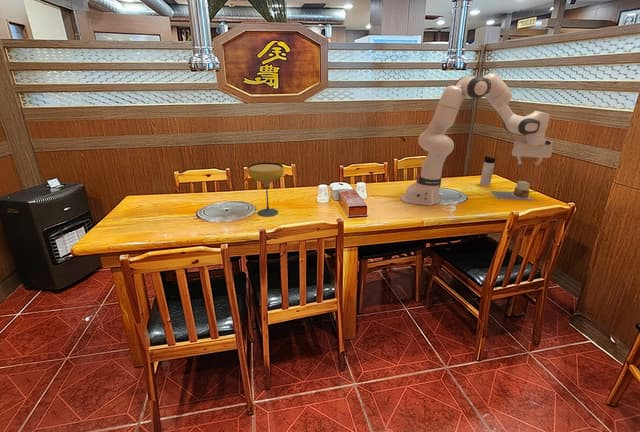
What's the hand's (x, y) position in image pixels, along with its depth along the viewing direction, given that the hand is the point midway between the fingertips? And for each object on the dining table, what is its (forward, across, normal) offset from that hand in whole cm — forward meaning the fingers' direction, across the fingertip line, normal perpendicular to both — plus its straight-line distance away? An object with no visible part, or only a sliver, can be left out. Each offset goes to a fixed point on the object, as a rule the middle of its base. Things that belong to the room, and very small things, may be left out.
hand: (528, 164), depth 200 cm
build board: (+21, -5, 0) cm, 21 cm away
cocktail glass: (+23, -143, -48) cm, 153 cm away
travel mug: (+21, -15, +19) cm, 32 cm away
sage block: (+15, 0, 0) cm, 15 cm away
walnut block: (+20, 0, 0) cm, 20 cm away
